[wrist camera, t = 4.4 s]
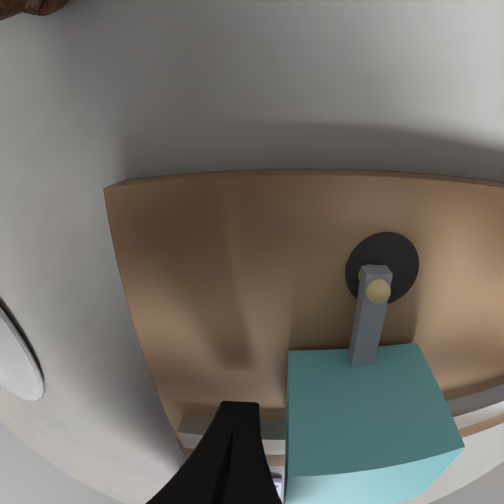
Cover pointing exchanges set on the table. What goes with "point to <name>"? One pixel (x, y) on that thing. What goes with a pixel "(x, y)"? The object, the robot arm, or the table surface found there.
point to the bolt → (29, 7)
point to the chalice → (18, 364)
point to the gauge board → (307, 283)
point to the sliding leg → (365, 415)
